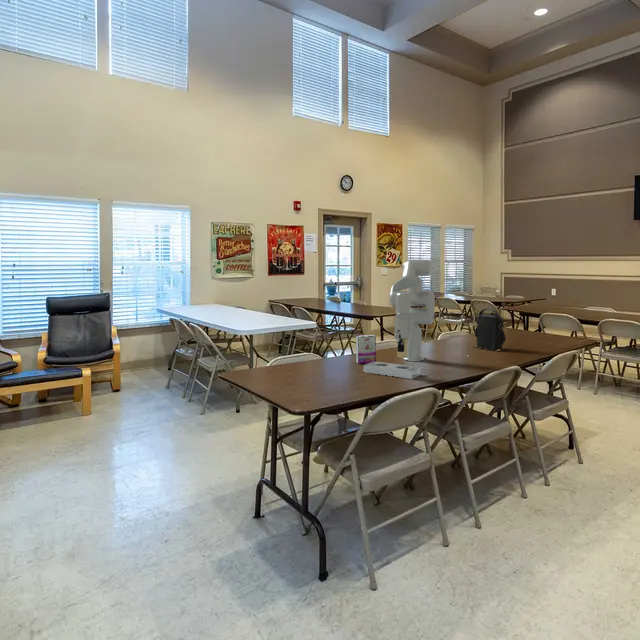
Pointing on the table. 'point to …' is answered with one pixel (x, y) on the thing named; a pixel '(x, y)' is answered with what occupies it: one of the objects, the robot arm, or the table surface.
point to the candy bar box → (365, 349)
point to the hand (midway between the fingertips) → (402, 350)
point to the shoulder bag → (490, 331)
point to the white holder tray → (392, 370)
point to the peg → (404, 354)
